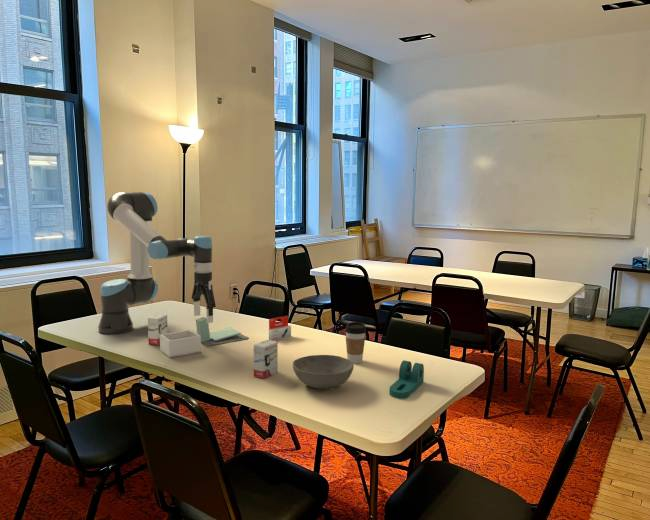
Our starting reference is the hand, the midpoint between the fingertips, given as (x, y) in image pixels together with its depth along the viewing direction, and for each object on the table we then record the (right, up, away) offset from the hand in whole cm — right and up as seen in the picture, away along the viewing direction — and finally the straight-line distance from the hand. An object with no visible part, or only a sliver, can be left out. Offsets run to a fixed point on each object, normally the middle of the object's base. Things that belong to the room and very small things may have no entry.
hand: (203, 319), depth 218 cm
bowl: (+53, -18, -46) cm, 72 cm away
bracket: (+81, -19, -48) cm, 96 cm away
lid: (+5, -9, +5) cm, 11 cm away
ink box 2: (+32, -16, -37) cm, 51 cm away
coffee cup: (+66, -14, -22) cm, 71 cm away
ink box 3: (+33, -10, +7) cm, 35 cm away
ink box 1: (-19, -10, -1) cm, 22 cm away
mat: (+7, -9, +6) cm, 13 cm away
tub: (-6, -12, -14) cm, 19 cm away
